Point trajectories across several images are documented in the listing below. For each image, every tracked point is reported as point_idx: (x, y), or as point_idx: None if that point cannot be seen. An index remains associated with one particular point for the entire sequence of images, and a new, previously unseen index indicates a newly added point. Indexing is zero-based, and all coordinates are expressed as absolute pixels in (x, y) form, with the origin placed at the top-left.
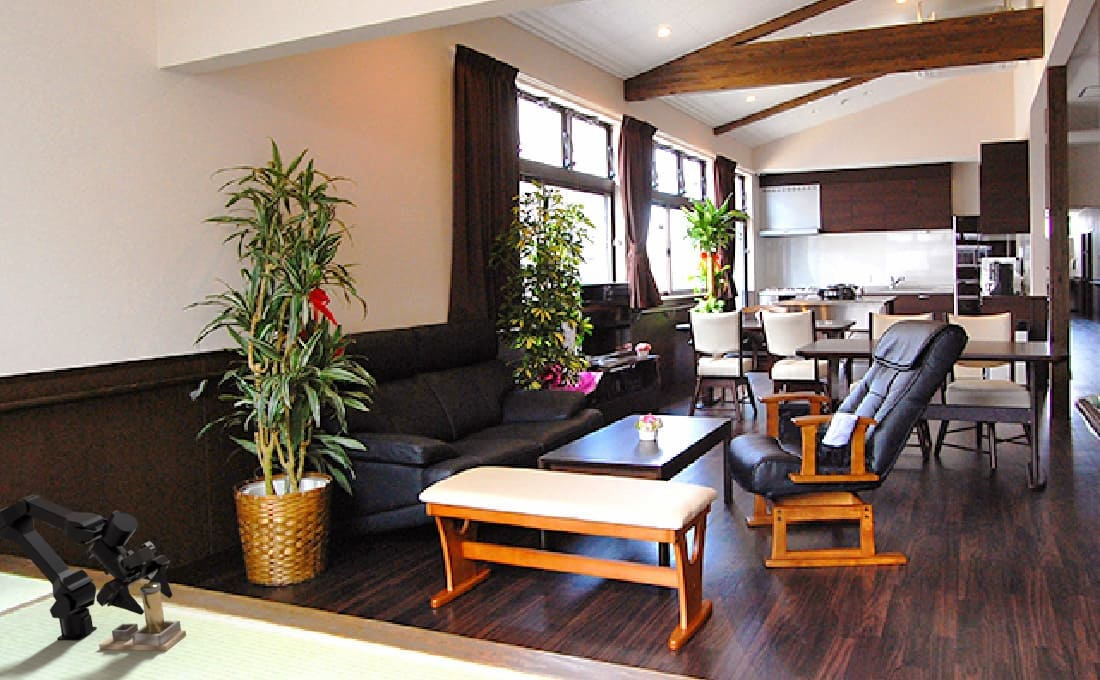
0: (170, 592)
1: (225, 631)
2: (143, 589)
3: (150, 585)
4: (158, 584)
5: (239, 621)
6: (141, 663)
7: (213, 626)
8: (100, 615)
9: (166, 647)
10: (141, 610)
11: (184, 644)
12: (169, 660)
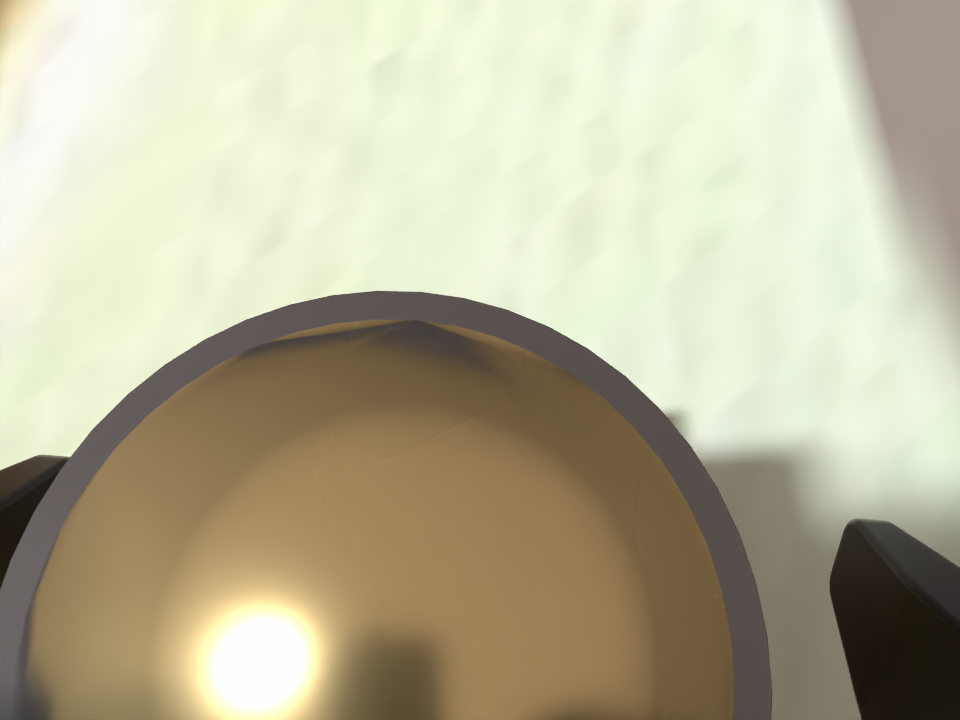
0: (13, 477)
1: (211, 144)
2: (763, 683)
3: (340, 664)
4: (237, 385)
5: (25, 138)
6: (865, 515)
7: (107, 303)
8: None
9: None
10: (916, 541)
11: None
12: (752, 287)
